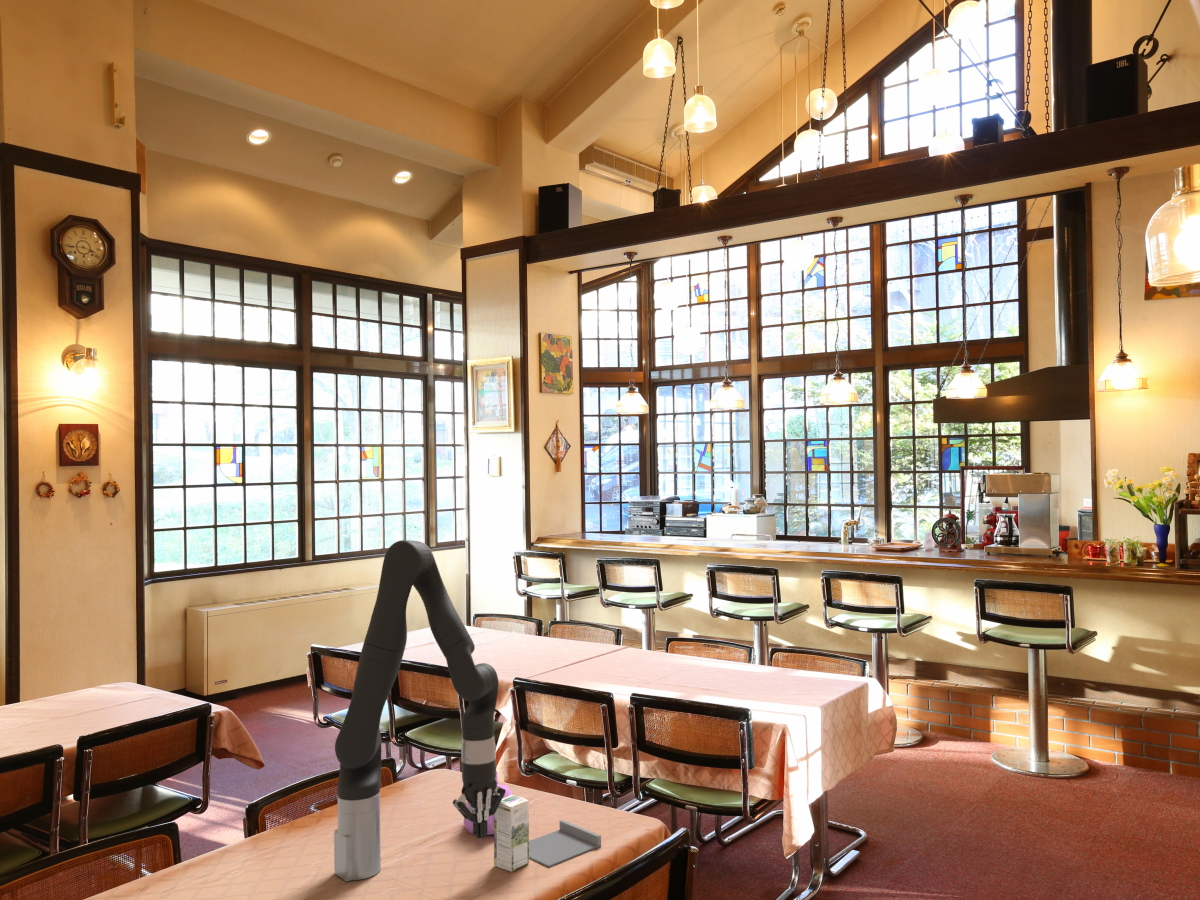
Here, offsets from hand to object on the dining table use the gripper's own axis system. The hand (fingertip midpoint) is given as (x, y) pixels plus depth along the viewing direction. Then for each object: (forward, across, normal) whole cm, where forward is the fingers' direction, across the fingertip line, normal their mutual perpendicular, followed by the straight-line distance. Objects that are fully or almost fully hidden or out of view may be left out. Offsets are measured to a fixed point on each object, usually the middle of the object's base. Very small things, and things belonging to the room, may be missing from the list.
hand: (480, 837), depth 189 cm
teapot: (+9, +18, +23) cm, 30 cm away
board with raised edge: (+9, +22, +1) cm, 23 cm away
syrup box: (+9, +9, 0) cm, 12 cm away
